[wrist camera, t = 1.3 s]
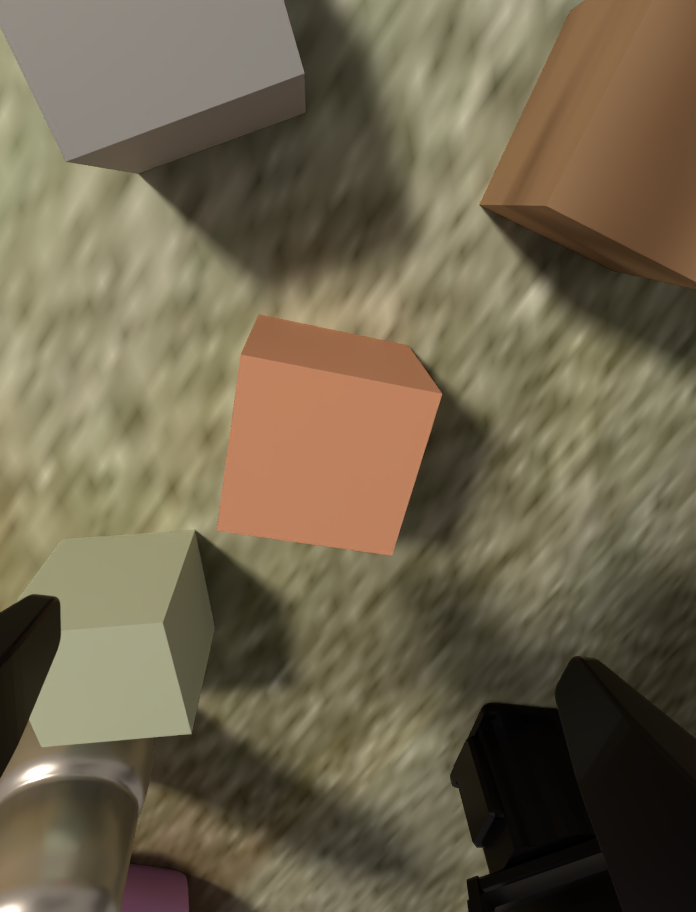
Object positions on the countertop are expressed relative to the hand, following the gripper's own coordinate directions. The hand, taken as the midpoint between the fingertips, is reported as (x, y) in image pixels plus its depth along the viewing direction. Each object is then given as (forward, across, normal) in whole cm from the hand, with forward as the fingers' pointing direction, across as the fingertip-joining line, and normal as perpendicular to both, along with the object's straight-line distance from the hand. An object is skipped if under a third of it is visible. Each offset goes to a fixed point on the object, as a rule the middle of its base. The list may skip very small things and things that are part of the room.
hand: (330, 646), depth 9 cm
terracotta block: (+12, 0, 0) cm, 12 cm away
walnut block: (+12, -7, -10) cm, 17 cm away
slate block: (+12, +6, -10) cm, 17 cm away
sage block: (+12, +6, +10) cm, 17 cm away
